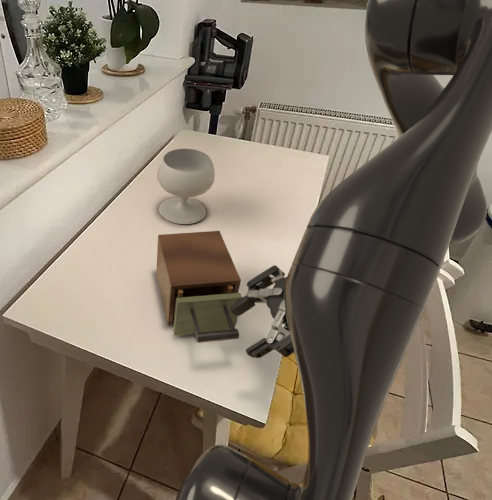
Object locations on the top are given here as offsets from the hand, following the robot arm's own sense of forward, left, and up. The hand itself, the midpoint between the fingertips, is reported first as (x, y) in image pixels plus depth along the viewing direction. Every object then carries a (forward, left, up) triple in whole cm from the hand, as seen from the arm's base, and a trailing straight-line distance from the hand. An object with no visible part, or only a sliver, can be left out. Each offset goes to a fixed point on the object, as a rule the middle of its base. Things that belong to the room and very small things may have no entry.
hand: (241, 332), depth 69 cm
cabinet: (+18, +3, -10) cm, 21 cm away
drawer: (+11, +3, -9) cm, 14 cm away
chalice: (+48, -1, -10) cm, 49 cm away
